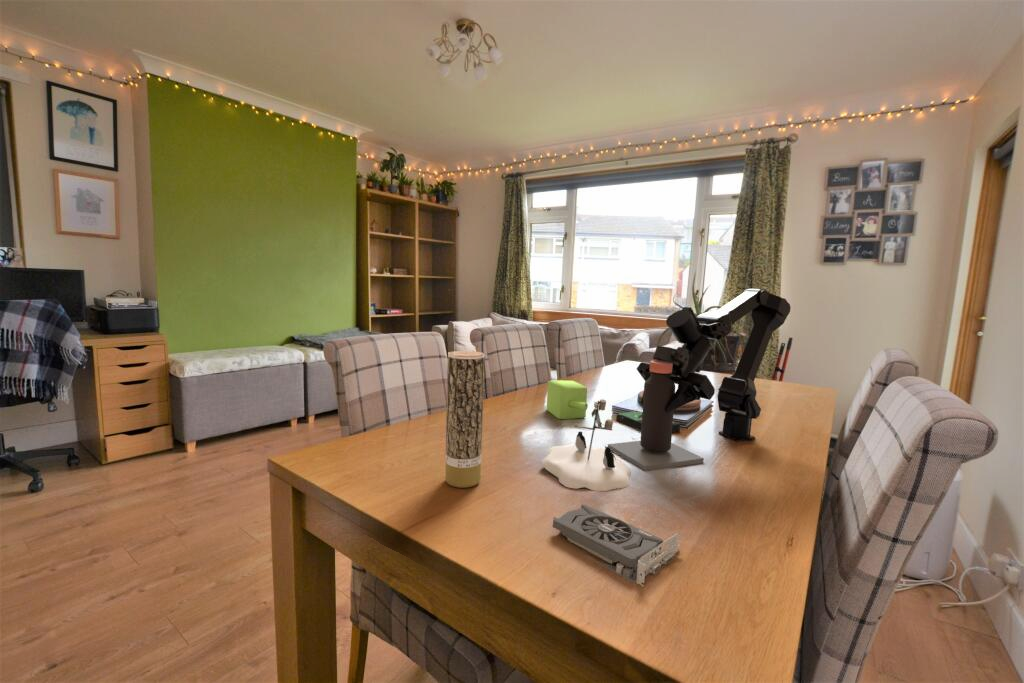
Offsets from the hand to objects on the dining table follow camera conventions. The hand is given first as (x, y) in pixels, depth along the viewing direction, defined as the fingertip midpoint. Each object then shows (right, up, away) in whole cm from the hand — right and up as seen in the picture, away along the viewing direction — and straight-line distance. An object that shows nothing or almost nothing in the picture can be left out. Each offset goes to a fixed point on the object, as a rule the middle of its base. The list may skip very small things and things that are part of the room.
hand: (653, 407), depth 106 cm
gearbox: (-15, -7, +33) cm, 37 cm away
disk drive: (+6, -9, +25) cm, 28 cm away
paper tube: (-42, -12, -16) cm, 46 cm away
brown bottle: (+1, -10, +2) cm, 10 cm away
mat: (+1, -11, +2) cm, 12 cm away
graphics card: (-17, -16, -35) cm, 42 cm away
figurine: (-17, -12, -8) cm, 22 cm away
